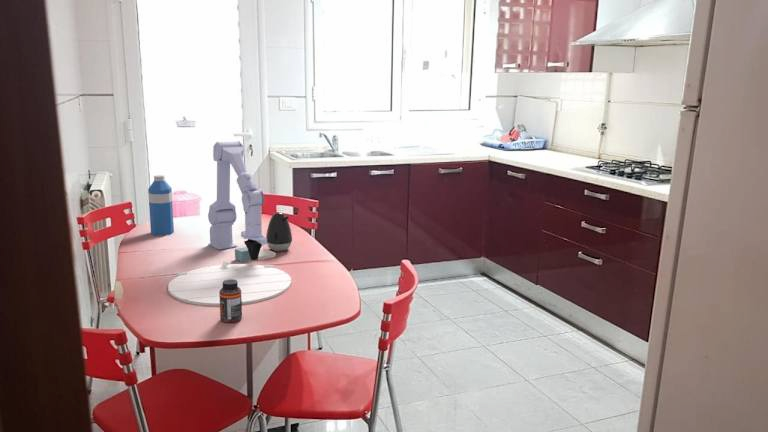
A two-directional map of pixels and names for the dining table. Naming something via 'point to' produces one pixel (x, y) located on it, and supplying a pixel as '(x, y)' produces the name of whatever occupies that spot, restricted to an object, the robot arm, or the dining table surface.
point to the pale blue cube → (242, 254)
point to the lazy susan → (209, 280)
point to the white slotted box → (265, 254)
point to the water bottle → (160, 207)
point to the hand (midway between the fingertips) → (254, 259)
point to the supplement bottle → (230, 301)
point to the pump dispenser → (279, 232)
